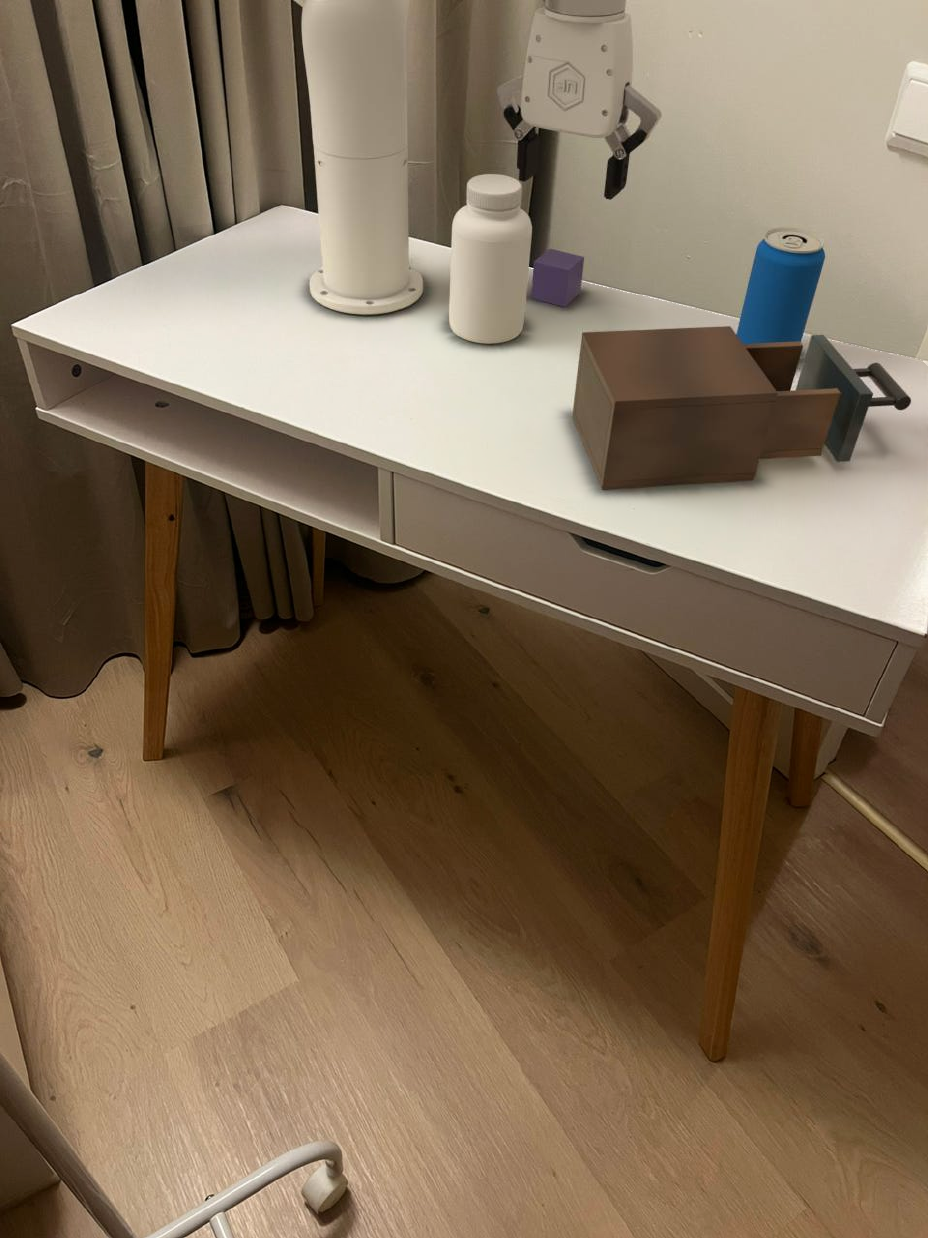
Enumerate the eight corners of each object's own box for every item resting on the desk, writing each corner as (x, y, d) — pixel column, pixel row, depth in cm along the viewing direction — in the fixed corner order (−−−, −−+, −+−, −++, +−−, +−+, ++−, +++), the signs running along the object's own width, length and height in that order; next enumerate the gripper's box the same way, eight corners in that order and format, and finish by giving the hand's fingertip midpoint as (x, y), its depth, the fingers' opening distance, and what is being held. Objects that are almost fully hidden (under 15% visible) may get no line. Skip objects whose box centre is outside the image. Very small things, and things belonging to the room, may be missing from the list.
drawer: (856, 397, 95) (878, 331, 91) (906, 458, 88) (933, 390, 83) (678, 406, 93) (691, 339, 88) (713, 470, 86) (730, 400, 81)
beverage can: (801, 346, 104) (834, 233, 96) (789, 374, 100) (822, 258, 92) (741, 333, 106) (767, 220, 98) (726, 359, 102) (753, 244, 94)
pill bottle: (517, 350, 102) (528, 202, 92) (441, 340, 103) (443, 193, 93) (529, 315, 108) (541, 172, 97) (457, 306, 109) (461, 164, 98)
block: (530, 298, 111) (533, 261, 108) (546, 284, 114) (550, 248, 111) (564, 307, 109) (568, 270, 107) (580, 292, 112) (584, 256, 109)
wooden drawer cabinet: (711, 409, 95) (730, 325, 89) (753, 480, 86) (778, 392, 80) (571, 417, 93) (581, 331, 87) (601, 489, 85) (615, 401, 79)
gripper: (484, -9, 92) (479, 181, 104) (659, 16, 86) (633, 214, 98) (520, -23, 97) (511, 160, 109) (688, -1, 91) (660, 190, 103)
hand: (569, 185), depth 103 cm, fingers open, 9 cm apart
